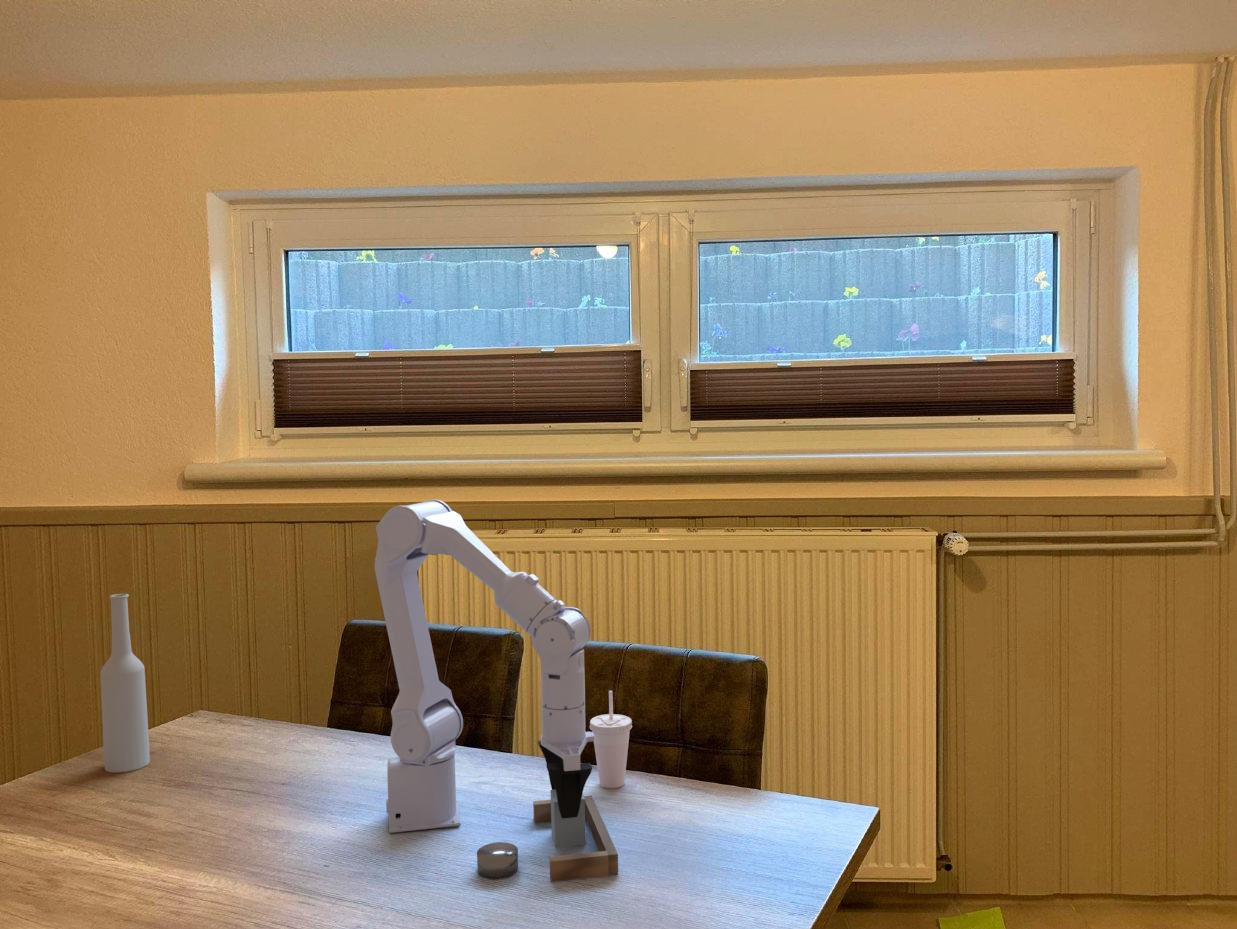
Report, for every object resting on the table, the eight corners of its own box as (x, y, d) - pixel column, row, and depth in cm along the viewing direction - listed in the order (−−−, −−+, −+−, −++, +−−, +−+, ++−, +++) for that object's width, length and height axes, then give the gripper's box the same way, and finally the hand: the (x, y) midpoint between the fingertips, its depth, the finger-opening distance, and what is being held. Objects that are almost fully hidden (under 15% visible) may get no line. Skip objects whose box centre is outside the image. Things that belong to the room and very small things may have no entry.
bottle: (150, 755, 163) (142, 589, 161) (149, 768, 157) (140, 596, 155) (106, 762, 160) (97, 593, 159) (103, 775, 154) (93, 600, 153)
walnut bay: (551, 881, 117) (550, 861, 117) (533, 818, 135) (533, 801, 135) (618, 874, 119) (617, 854, 119) (592, 812, 137) (591, 795, 137)
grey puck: (478, 882, 118) (478, 862, 117) (476, 864, 122) (475, 844, 122) (520, 878, 119) (519, 858, 118) (516, 859, 123) (515, 840, 123)
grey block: (555, 847, 126) (554, 801, 126) (551, 833, 130) (550, 789, 130) (585, 843, 127) (584, 798, 127) (581, 830, 131) (580, 787, 131)
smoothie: (635, 775, 150) (633, 686, 149) (631, 792, 144) (629, 698, 143) (593, 775, 151) (591, 685, 150) (588, 791, 144) (586, 698, 144)
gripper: (603, 718, 121) (605, 824, 122) (584, 685, 136) (585, 781, 136) (547, 722, 120) (549, 830, 121) (533, 689, 134) (535, 785, 135)
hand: (564, 804), depth 128 cm, fingers open, 7 cm apart
